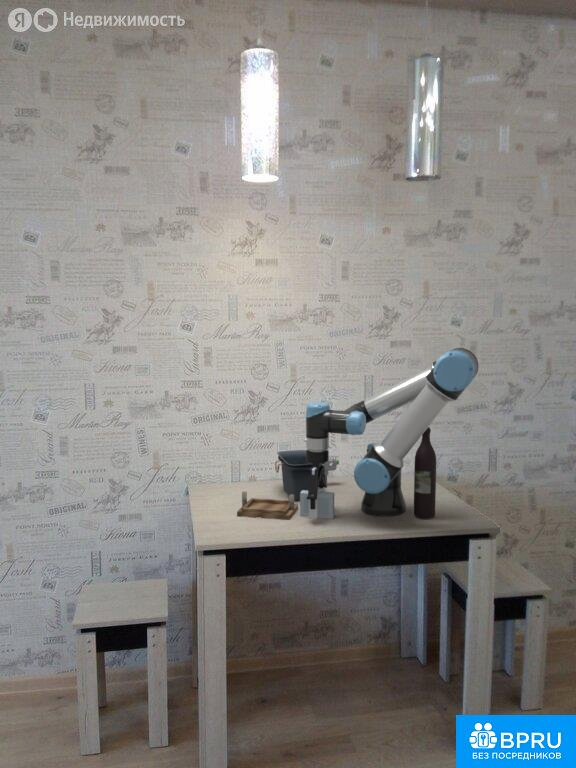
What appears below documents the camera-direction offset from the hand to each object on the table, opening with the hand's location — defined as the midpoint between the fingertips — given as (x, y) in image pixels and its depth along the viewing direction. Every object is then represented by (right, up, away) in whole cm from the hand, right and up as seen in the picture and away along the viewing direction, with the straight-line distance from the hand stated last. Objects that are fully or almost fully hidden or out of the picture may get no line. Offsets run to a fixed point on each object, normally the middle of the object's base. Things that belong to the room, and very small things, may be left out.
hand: (317, 512), depth 251 cm
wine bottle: (+36, -1, -1) cm, 36 cm away
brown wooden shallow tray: (-17, -1, +4) cm, 17 cm away
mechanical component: (+4, +4, +37) cm, 37 cm away
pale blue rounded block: (0, -1, 0) cm, 1 cm away
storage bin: (-6, +2, +25) cm, 26 cm away
